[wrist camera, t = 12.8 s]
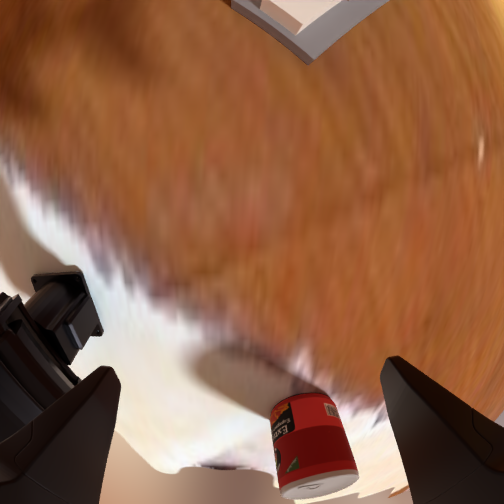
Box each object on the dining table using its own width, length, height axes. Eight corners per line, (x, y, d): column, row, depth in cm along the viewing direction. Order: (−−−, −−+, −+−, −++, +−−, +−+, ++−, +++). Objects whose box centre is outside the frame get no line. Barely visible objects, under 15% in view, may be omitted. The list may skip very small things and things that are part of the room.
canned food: (272, 393, 26) (287, 484, 16) (342, 387, 27) (372, 467, 17) (265, 428, 29) (275, 503, 19) (325, 422, 30) (345, 491, 20)
